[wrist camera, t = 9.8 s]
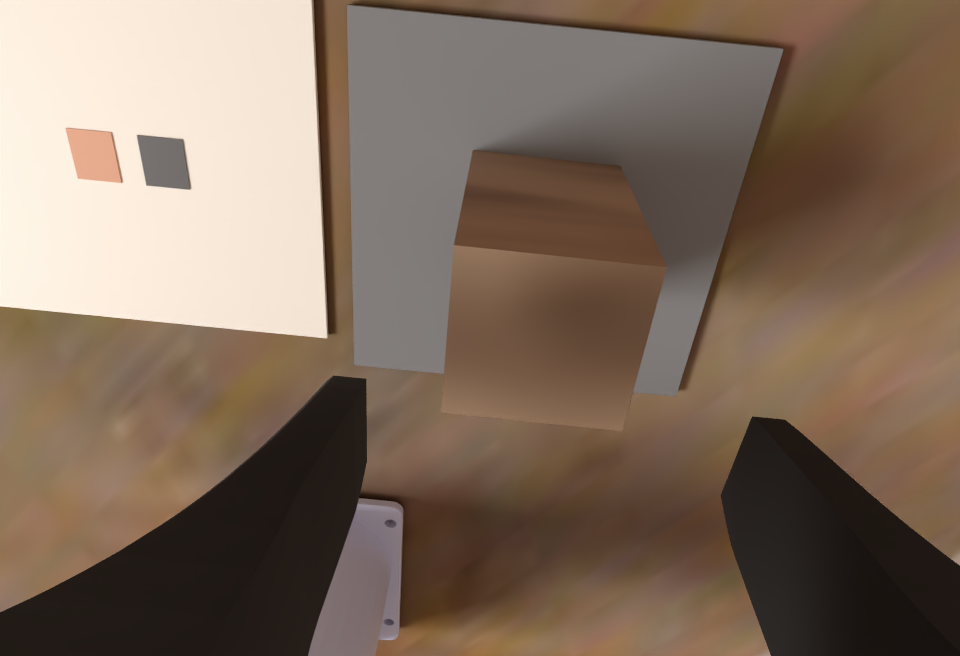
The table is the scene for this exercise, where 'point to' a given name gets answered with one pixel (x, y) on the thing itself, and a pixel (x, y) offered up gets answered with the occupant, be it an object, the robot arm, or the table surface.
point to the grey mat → (537, 133)
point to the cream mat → (163, 162)
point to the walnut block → (548, 293)
